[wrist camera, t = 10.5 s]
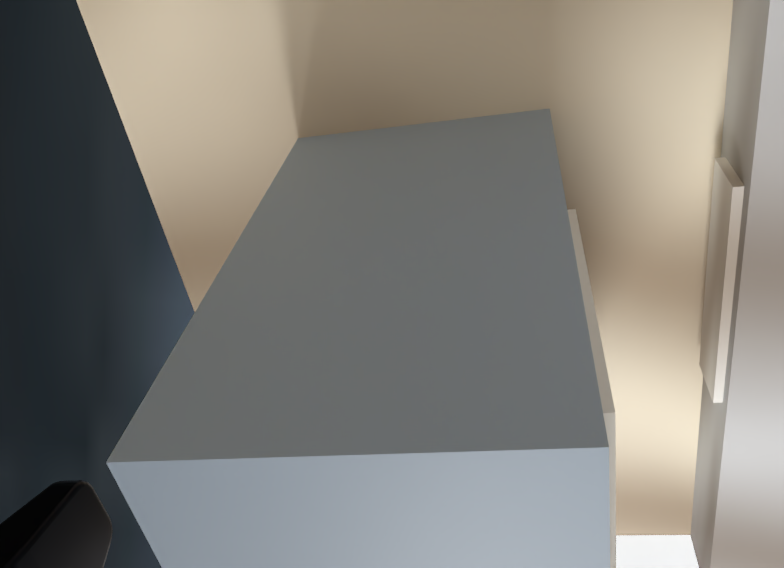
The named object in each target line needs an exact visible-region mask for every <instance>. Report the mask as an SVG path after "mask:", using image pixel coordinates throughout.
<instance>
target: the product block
mask: <svg viewBox="0 0 784 568" xmlns="http://www.w3.org/2000/svg"><path fill="white" fill-rule="evenodd" d="M106 463H107V465H108V467H109V469H110V471H111V473H112V475H113V477H114V478H115V480H116V482H117V484H118V486H119V488H120V490H121V492H122V494H123V495H124V497H125V499H126V501H127V503H128V505H129V507H130V509H131V510H132V512H133V514H134V516H135V518H136V520H137V522H138V524H139V526H140V527H141V529H142V531H143V533H144V535H145V537H146V539H147V541H148V542H149V544H150V546H151V548H152V550H153V552H154V554H155V556H156V558H157V559H158V561H159V563H160V565H161V567H162V568H616V425H615V408H614V403H613V397H612V392H611V387H610V382H609V377H608V372H607V367H606V362H605V357H604V351H603V346H602V341H601V336H600V331H599V326H598V321H597V316H596V311H595V306H594V300H593V295H592V290H591V285H590V280H589V275H588V270H587V265H586V260H585V254H584V249H583V244H582V239H581V234H580V229H579V224H578V219H577V214H576V209H569V210H567V205H566V199H565V193H564V188H563V182H562V176H561V171H560V165H559V159H558V154H557V148H556V142H555V136H554V131H553V125H552V119H551V114H550V109H541V110H533V111H524V112H516V113H507V114H499V115H490V116H482V117H473V118H465V119H456V120H448V121H439V122H431V123H422V124H414V125H405V126H397V127H388V128H380V129H371V130H363V131H354V132H346V133H338V134H329V135H321V136H312V137H304V138H298V139H297V141H296V143H295V144H294V146H293V148H292V149H291V151H290V153H289V154H288V156H287V158H286V159H285V161H284V163H283V165H282V166H281V168H280V170H279V171H278V173H277V175H276V176H275V178H274V180H273V181H272V183H271V185H270V186H269V188H268V190H267V192H266V193H265V195H264V197H263V198H262V200H261V202H260V203H259V205H258V207H257V208H256V210H255V212H254V213H253V215H252V217H251V219H250V220H249V222H248V224H247V225H246V227H245V229H244V230H243V232H242V234H241V235H240V237H239V239H238V241H237V242H236V244H235V246H234V247H233V249H232V251H231V252H230V254H229V256H228V257H227V259H226V261H225V262H224V264H223V266H222V268H221V269H220V271H219V273H218V274H217V276H216V278H215V279H214V281H213V283H212V284H211V286H210V288H209V290H208V291H207V293H206V295H205V296H204V298H203V300H202V301H201V303H200V305H199V306H198V308H197V310H196V311H195V313H194V315H193V317H192V318H191V320H190V322H189V323H188V325H187V327H186V328H185V330H184V332H183V333H182V335H181V337H180V339H179V340H178V342H177V344H176V345H175V347H174V349H173V350H172V352H171V354H170V355H169V357H168V359H167V360H166V362H165V364H164V366H163V367H162V369H161V371H160V372H159V374H158V376H157V377H156V379H155V381H154V382H153V384H152V386H151V387H150V389H149V391H148V393H147V394H146V396H145V398H144V399H143V401H142V403H141V404H140V406H139V408H138V409H137V411H136V413H135V415H134V416H133V418H132V420H131V421H130V423H129V425H128V426H127V428H126V430H125V431H124V433H123V435H122V436H121V438H120V440H119V442H118V443H117V445H116V447H115V448H114V450H113V452H112V453H111V455H110V457H109V458H108V460H107V462H106Z"/></svg>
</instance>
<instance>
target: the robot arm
mask: <svg viewBox="0 0 784 568" xmlns="http://www.w3.org/2000/svg"><path fill="white" fill-rule="evenodd" d="M111 539H112V523H111V520H110V517H109V516H108V514H107V512H106V510H105V508H104V507H103V505H102V503H101V501H100V499H99V498H98V496H97V494H96V492H95V491H94V489H93V487H92V486H91V484H89V483H88V482H86V481H82V480H77V481H59V482H56V483H53V484H52V485H50V486H49V487H48V488H46V489H45V490H44V491H42V492H41V493H40V494H39V495H37V496H36V497H35V498H33V499H32V500H31V501H30V502H28V503H27V504H26V505H24V506H23V507H22V508H21V509H19V510H18V511H17V512H15V513H14V514H13V515H11V516H10V517H9V518H8V519H6V520H5V521H4V522H2V523H1V524H0V568H103V567H104V564H105V560H106V557H107V553H108V550H109V546H110V543H111Z"/></svg>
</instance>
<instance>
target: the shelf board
mask: <svg viewBox="0 0 784 568" xmlns="http://www.w3.org/2000/svg"><path fill="white" fill-rule="evenodd" d="M76 1H77V4H78V6H79V9H80V12H81V14H82V17H83V20H84V22H85V25H86V27H87V30H88V33H89V35H90V38H91V41H92V43H93V46H94V49H95V51H96V54H97V56H98V59H99V62H100V64H101V67H102V70H103V72H104V75H105V77H106V80H107V83H108V85H109V88H110V91H111V93H112V96H113V98H114V101H115V104H116V106H117V109H118V112H119V114H120V117H121V120H122V122H123V125H124V127H125V130H126V133H127V135H128V138H129V141H130V143H131V146H132V148H133V151H134V154H135V156H136V159H137V162H138V164H139V167H140V169H141V172H142V175H143V177H144V180H145V183H146V185H147V188H148V191H149V193H150V196H151V198H152V201H153V204H154V206H155V209H156V212H157V214H158V217H159V219H160V222H161V225H162V227H163V230H164V233H165V235H166V238H167V240H168V243H169V246H170V248H171V251H172V254H173V256H174V259H175V262H176V264H177V267H178V269H179V272H180V275H181V277H182V280H183V283H184V285H185V288H186V290H187V293H188V296H189V298H190V301H191V304H192V306H193V309H194V311H196V310H197V308H198V306H199V305H200V303H201V301H202V300H203V298H204V296H205V295H206V293H207V291H208V290H209V288H210V286H211V284H212V283H213V281H214V279H215V278H216V276H217V274H218V273H219V271H220V269H221V268H222V266H223V264H224V262H225V261H226V259H227V257H228V256H229V254H230V252H231V251H232V249H233V247H234V246H235V244H236V242H237V241H238V239H239V237H240V235H241V234H242V232H243V230H244V229H245V227H246V225H247V224H248V222H249V220H250V219H251V217H252V215H253V213H254V212H255V210H256V208H257V207H258V205H259V203H260V202H261V200H262V198H263V197H264V195H265V193H266V192H267V190H268V188H269V186H270V185H271V183H272V181H273V180H274V178H275V176H276V175H277V173H278V171H279V170H280V168H281V166H282V165H283V163H284V161H285V159H286V158H287V156H288V154H289V153H290V151H291V149H292V148H293V146H294V144H295V143H296V141H297V139H298V138H304V137H312V136H321V135H329V134H338V133H346V132H354V131H363V130H371V129H380V128H388V127H397V126H405V125H414V124H422V123H431V122H439V121H448V120H456V119H465V118H473V117H482V116H490V115H499V114H507V113H516V112H524V111H533V110H541V109H550V114H551V119H552V125H553V131H554V136H555V142H556V148H557V154H558V159H559V165H560V171H561V176H562V182H563V188H564V193H565V199H566V205H567V210H569V209H576V214H577V219H578V224H579V229H580V234H581V239H582V244H583V249H584V254H585V260H586V265H587V270H588V275H589V280H590V285H591V290H592V295H593V300H594V306H595V311H596V316H597V321H598V326H599V331H600V336H601V341H602V346H603V351H604V357H605V362H606V367H607V372H608V377H609V382H610V387H611V392H612V397H613V403H614V408H615V425H616V535H691V538H692V542H693V546H694V550H695V554H696V557H697V561H698V565H699V568H784V0H76Z"/></svg>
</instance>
